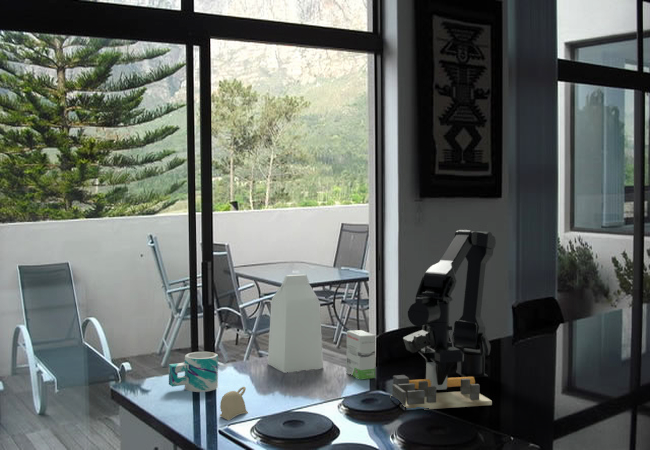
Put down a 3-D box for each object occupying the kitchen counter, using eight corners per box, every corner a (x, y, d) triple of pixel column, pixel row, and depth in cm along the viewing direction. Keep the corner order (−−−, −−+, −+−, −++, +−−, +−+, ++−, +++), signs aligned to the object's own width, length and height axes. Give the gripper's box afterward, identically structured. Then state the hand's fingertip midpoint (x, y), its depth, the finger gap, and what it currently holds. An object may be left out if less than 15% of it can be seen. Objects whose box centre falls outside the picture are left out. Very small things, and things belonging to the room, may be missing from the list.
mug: (222, 389, 183) (222, 356, 183) (176, 396, 177) (176, 361, 177) (209, 381, 190) (209, 350, 190) (164, 388, 184) (164, 355, 184)
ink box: (375, 378, 196) (376, 334, 196) (359, 380, 194) (360, 336, 194) (361, 371, 204) (361, 329, 204) (345, 372, 202) (345, 330, 201)
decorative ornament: (214, 417, 161) (214, 393, 161) (239, 408, 168) (240, 385, 167) (227, 421, 158) (227, 396, 158) (253, 411, 165) (253, 388, 165)
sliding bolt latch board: (474, 394, 182) (474, 376, 181) (491, 404, 173) (492, 386, 173) (390, 399, 176) (390, 381, 176) (404, 410, 167) (404, 391, 167)
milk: (284, 372, 201) (285, 278, 200) (267, 363, 211) (268, 273, 210) (323, 368, 206) (324, 276, 205) (305, 360, 217) (306, 272, 215)
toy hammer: (469, 383, 189) (469, 360, 188) (476, 387, 185) (476, 363, 185) (392, 387, 183) (392, 364, 183) (397, 392, 180) (398, 367, 179)
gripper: (394, 315, 190) (393, 375, 191) (421, 328, 172) (420, 394, 173) (434, 314, 193) (433, 372, 194) (465, 327, 175) (464, 391, 176)
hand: (436, 382), depth 184 cm, fingers closed on toy hammer, 4 cm apart
